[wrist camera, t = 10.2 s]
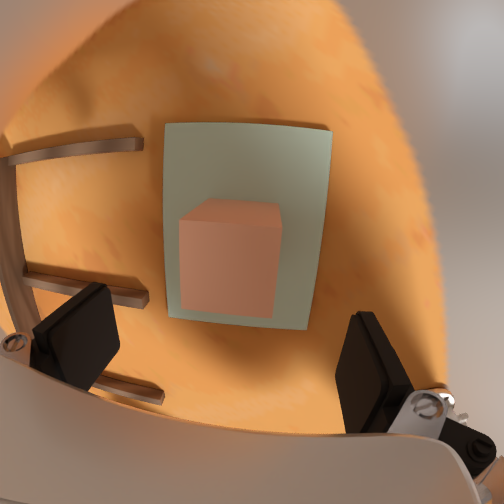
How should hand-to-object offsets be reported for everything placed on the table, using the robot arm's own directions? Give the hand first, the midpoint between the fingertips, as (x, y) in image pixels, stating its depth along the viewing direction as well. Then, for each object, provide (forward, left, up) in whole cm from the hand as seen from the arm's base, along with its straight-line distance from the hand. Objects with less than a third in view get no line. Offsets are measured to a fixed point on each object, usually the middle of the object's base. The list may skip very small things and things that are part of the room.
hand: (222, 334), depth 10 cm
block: (+1, -1, -12) cm, 12 cm away
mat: (+1, -1, -12) cm, 12 cm away
